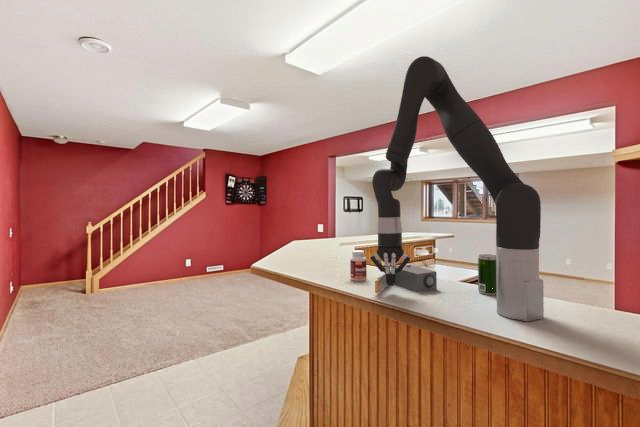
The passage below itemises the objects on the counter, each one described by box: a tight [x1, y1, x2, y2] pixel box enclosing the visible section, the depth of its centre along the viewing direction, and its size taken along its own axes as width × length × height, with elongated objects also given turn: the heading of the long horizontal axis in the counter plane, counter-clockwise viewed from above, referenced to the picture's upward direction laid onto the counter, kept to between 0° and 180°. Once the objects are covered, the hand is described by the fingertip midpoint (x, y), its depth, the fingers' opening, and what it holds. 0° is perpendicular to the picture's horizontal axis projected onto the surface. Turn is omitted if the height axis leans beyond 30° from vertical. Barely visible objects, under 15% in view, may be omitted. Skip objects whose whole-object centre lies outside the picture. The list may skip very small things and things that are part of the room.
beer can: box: [477, 253, 497, 296], centre depth 100 cm, size 5×5×12 cm
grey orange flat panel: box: [374, 269, 391, 294], centre depth 108 cm, size 18×1×5 cm, turn 153°
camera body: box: [394, 263, 438, 293], centre depth 110 cm, size 15×8×7 cm, turn 22°
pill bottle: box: [349, 249, 367, 282], centre depth 122 cm, size 6×6×11 cm
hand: (390, 284), depth 102 cm, fingers closed
